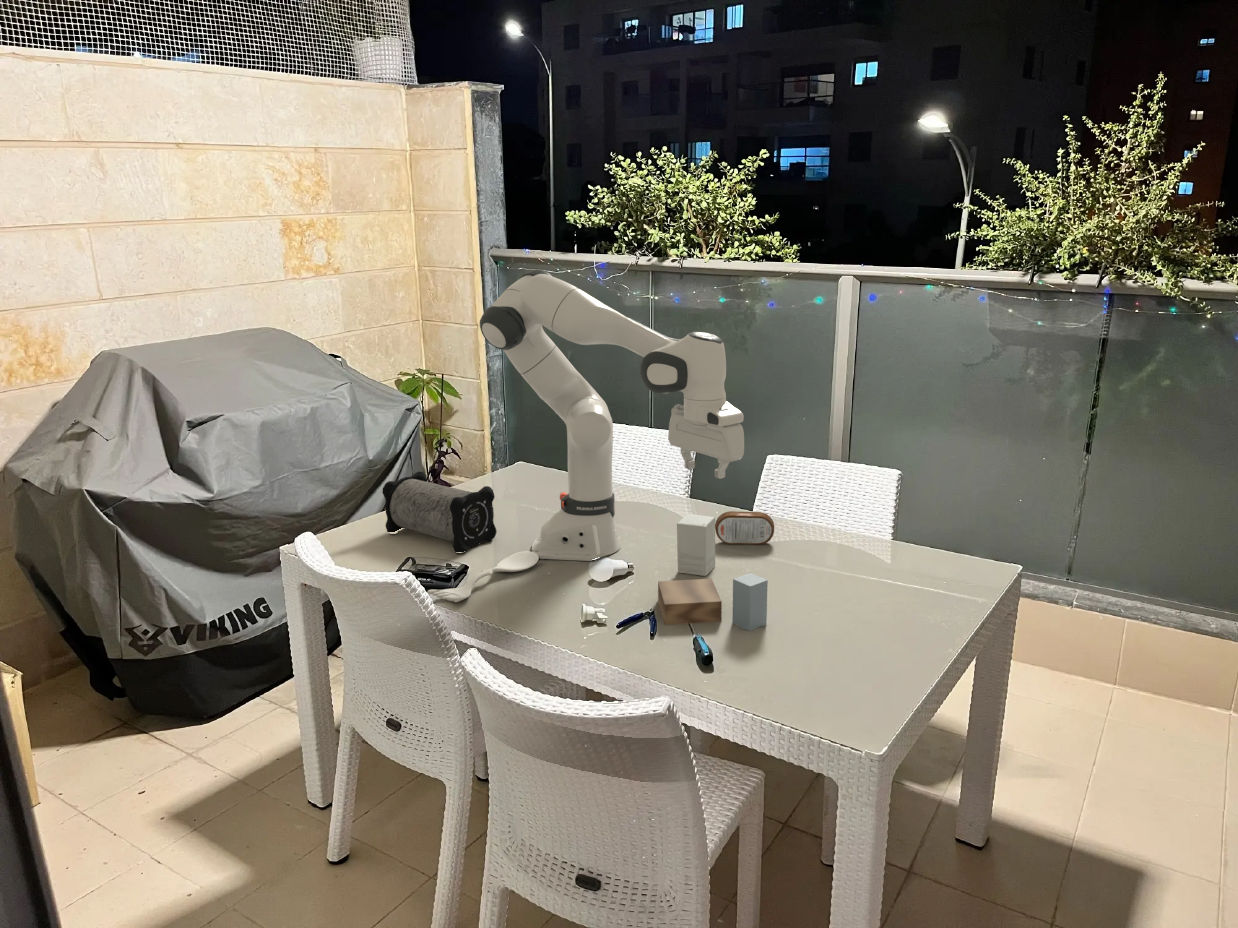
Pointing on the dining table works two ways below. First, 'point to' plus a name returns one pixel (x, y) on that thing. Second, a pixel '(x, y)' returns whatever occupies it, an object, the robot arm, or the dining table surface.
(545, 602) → the dining table surface
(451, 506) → the speaker
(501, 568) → the spoon
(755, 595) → the slate block
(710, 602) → the walnut block
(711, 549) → the supplement box
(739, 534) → the tin
